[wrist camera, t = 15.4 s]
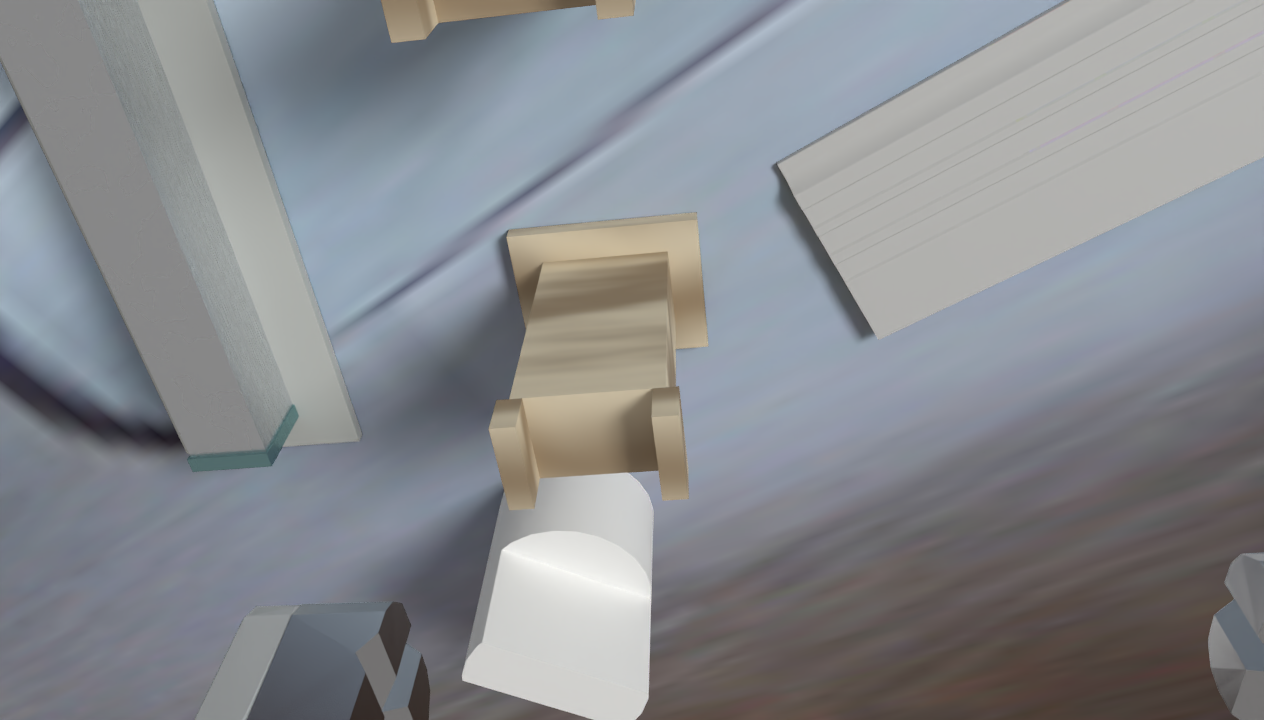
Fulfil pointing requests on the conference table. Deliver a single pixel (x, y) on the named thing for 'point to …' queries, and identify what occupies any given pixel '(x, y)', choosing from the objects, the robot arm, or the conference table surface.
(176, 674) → the conference table surface
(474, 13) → the post
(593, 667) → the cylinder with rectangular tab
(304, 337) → the pale gray flat board
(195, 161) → the rail
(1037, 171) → the baseboard molding
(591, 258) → the post
